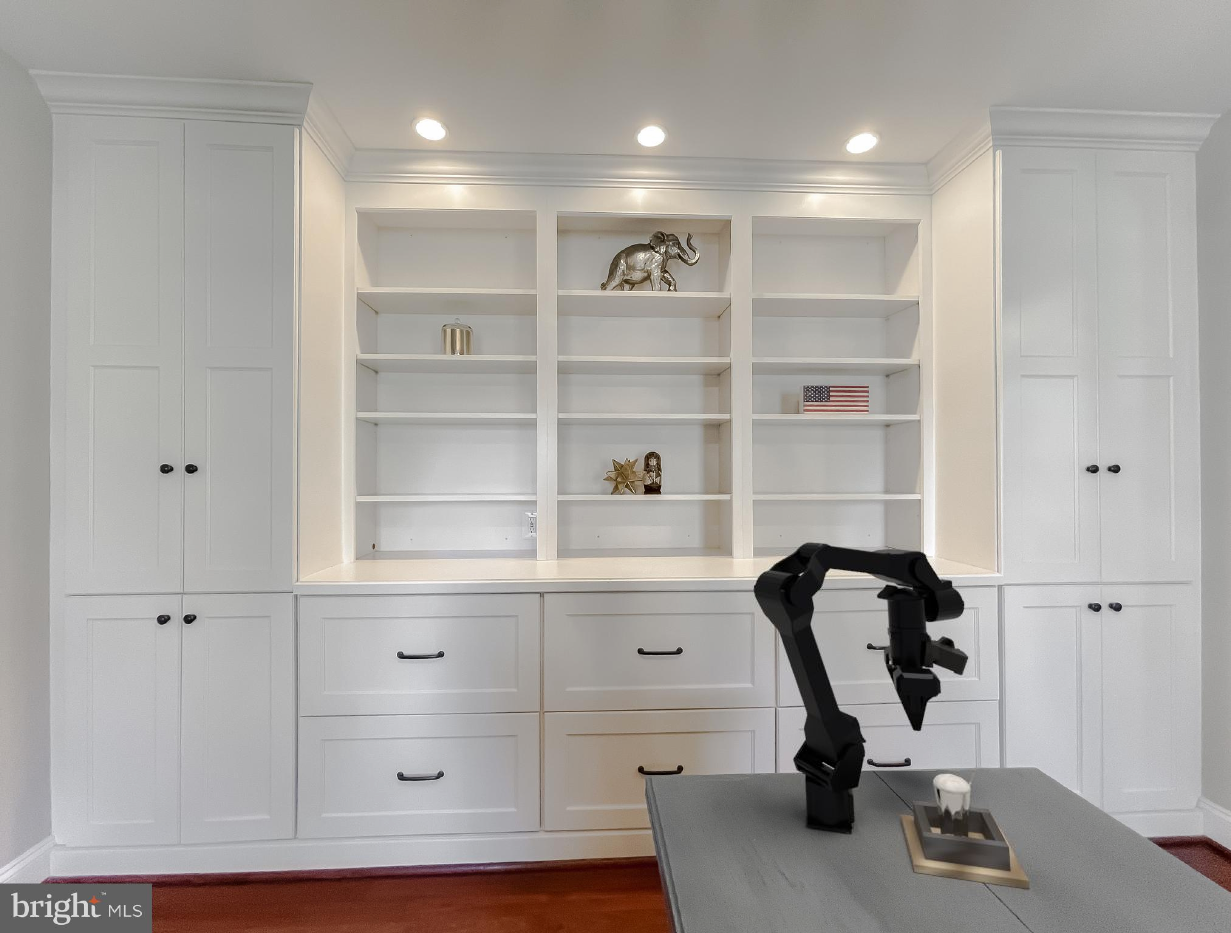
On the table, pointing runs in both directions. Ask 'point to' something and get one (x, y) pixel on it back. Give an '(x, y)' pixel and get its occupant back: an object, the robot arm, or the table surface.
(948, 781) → the milkshake
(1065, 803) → the table surface
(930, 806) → the dock
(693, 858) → the table surface
